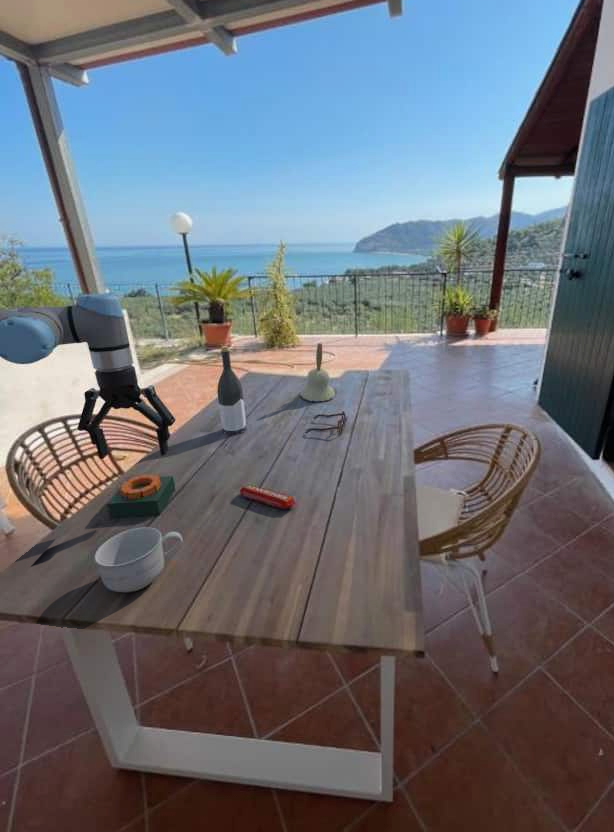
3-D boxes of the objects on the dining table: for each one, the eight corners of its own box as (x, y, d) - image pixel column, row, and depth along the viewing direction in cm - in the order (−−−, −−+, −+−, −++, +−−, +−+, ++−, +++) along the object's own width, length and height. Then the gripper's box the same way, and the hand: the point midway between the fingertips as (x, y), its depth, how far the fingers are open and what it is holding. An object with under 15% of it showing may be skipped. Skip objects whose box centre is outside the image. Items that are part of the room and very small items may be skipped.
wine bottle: (232, 424, 142) (222, 343, 132) (251, 427, 139) (242, 345, 129) (217, 433, 135) (206, 348, 124) (237, 436, 132) (226, 349, 122)
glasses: (340, 437, 132) (340, 423, 130) (303, 435, 133) (302, 421, 131) (346, 422, 144) (346, 409, 142) (312, 420, 145) (311, 408, 143)
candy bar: (298, 505, 95) (297, 495, 94) (289, 514, 92) (288, 503, 91) (247, 489, 101) (245, 479, 100) (237, 497, 98) (235, 486, 97)
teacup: (96, 608, 67) (85, 572, 64) (112, 564, 77) (103, 531, 74) (183, 588, 71) (176, 553, 68) (188, 549, 81) (182, 516, 78)
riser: (110, 518, 90) (106, 503, 89) (131, 491, 101) (127, 478, 99) (159, 514, 92) (156, 500, 90) (175, 489, 102) (172, 475, 100)
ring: (115, 499, 90) (114, 493, 90) (131, 481, 98) (130, 475, 98) (152, 497, 91) (151, 491, 91) (165, 479, 99) (164, 473, 98)
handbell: (326, 386, 180) (328, 335, 168) (340, 401, 168) (345, 348, 156) (294, 391, 172) (295, 338, 160) (307, 408, 161) (309, 352, 149)
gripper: (179, 361, 89) (194, 444, 96) (63, 365, 86) (87, 450, 94) (168, 369, 82) (184, 458, 89) (41, 374, 79) (69, 465, 87)
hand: (134, 454), depth 92 cm, fingers open, 13 cm apart
